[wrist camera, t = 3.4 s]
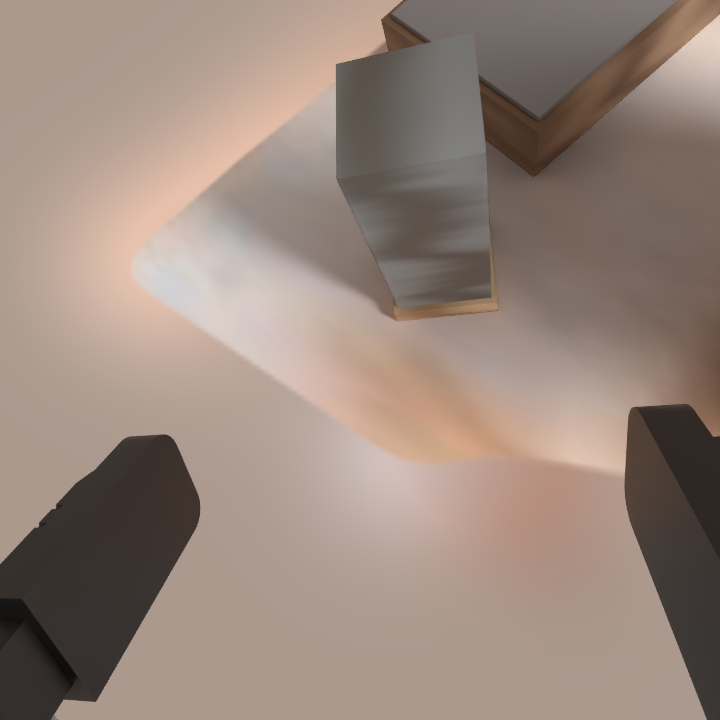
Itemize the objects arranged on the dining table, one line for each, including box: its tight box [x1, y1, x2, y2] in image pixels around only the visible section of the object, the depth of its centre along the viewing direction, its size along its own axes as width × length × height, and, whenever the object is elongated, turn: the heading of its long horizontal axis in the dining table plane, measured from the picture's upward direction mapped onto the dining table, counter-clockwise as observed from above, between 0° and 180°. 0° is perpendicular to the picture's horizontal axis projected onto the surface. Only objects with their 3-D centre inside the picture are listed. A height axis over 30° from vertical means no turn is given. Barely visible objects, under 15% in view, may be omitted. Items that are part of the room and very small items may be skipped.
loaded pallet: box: [336, 32, 498, 321], centre depth 24 cm, size 6×6×13 cm
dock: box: [381, 0, 720, 176], centre depth 31 cm, size 15×13×4 cm
